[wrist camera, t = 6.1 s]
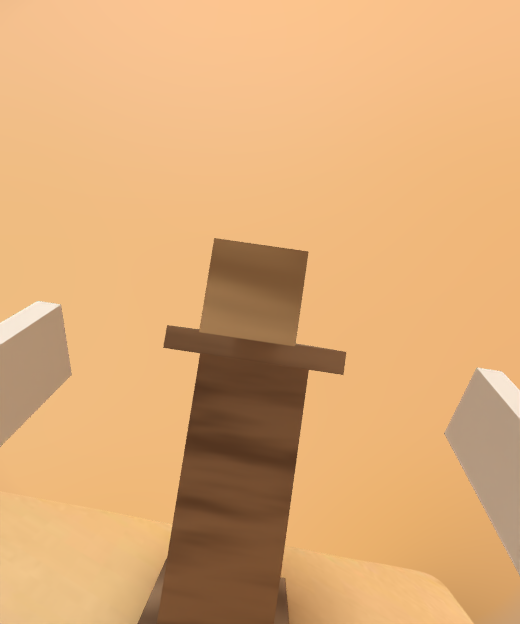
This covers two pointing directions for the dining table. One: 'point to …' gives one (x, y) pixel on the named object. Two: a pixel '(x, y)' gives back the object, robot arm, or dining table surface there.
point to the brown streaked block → (254, 292)
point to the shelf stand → (235, 481)
